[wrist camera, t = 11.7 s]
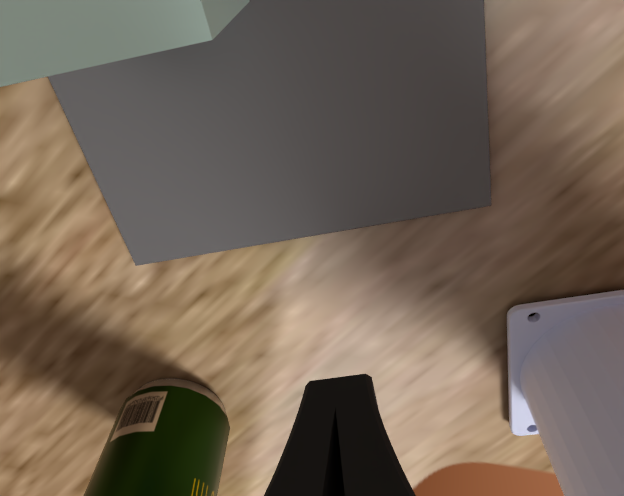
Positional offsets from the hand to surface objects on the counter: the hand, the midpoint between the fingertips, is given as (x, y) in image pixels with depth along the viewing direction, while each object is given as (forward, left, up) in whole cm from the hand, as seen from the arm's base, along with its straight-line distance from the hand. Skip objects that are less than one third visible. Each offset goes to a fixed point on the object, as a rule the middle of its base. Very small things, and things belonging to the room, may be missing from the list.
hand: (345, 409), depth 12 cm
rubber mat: (+1, -6, -10) cm, 12 cm away
